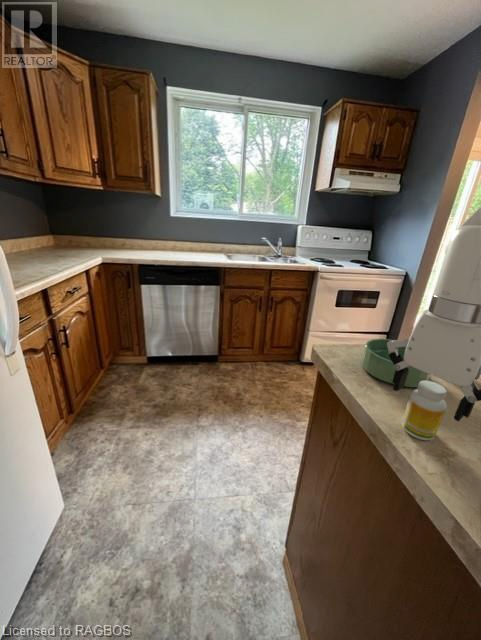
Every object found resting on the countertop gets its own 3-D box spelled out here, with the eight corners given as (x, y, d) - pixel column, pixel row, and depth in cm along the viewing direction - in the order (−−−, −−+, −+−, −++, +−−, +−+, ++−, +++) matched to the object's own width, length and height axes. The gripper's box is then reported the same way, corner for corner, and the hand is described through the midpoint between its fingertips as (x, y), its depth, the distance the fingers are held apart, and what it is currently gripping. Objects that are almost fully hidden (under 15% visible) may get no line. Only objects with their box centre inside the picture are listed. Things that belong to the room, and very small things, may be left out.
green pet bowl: (379, 353, 80) (383, 334, 78) (437, 376, 69) (444, 355, 67) (349, 367, 71) (354, 346, 69) (411, 396, 60) (418, 373, 58)
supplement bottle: (396, 418, 53) (409, 376, 50) (426, 423, 52) (441, 380, 49) (407, 438, 48) (422, 393, 45) (440, 444, 47) (458, 398, 44)
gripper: (541, 323, 38) (495, 422, 44) (409, 294, 51) (387, 373, 56) (531, 333, 33) (481, 442, 39) (390, 299, 46) (368, 384, 52)
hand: (426, 401), depth 48 cm, fingers open, 9 cm apart
